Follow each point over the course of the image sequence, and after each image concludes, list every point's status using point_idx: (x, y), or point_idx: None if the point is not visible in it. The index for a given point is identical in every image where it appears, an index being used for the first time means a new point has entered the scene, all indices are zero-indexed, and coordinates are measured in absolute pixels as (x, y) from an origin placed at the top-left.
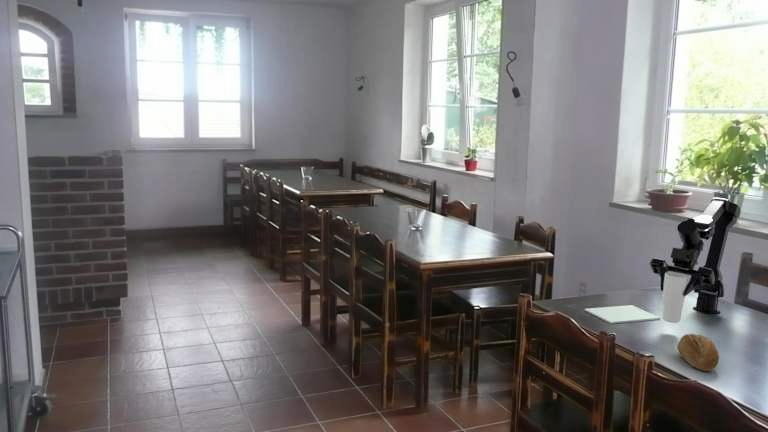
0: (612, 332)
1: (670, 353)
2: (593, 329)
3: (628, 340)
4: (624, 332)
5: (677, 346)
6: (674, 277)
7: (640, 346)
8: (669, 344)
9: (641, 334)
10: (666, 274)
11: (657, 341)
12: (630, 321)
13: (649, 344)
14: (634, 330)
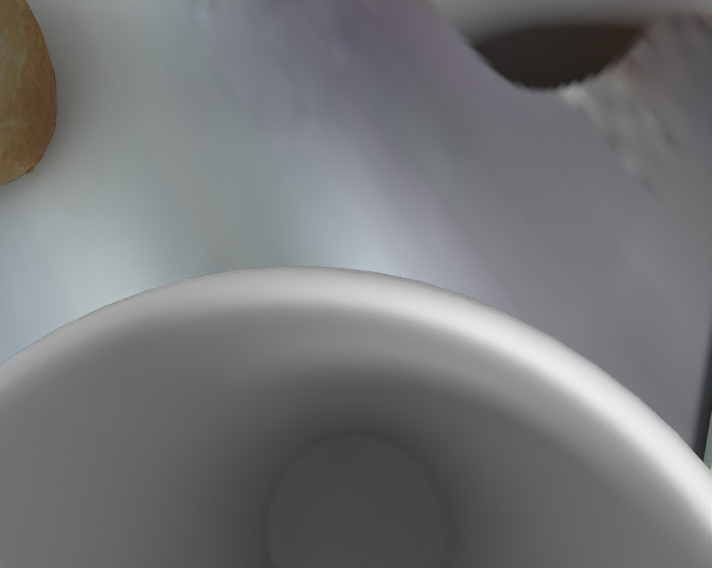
0: (585, 89)
1: (123, 85)
2: (693, 25)
3: (419, 52)
4: (544, 164)
5: (29, 8)
6: (133, 299)
7: (307, 28)
8: (211, 231)
9: (450, 239)
10: (568, 365)
11: (295, 210)
12: (710, 436)
13: (294, 109)
14: (538, 272)
